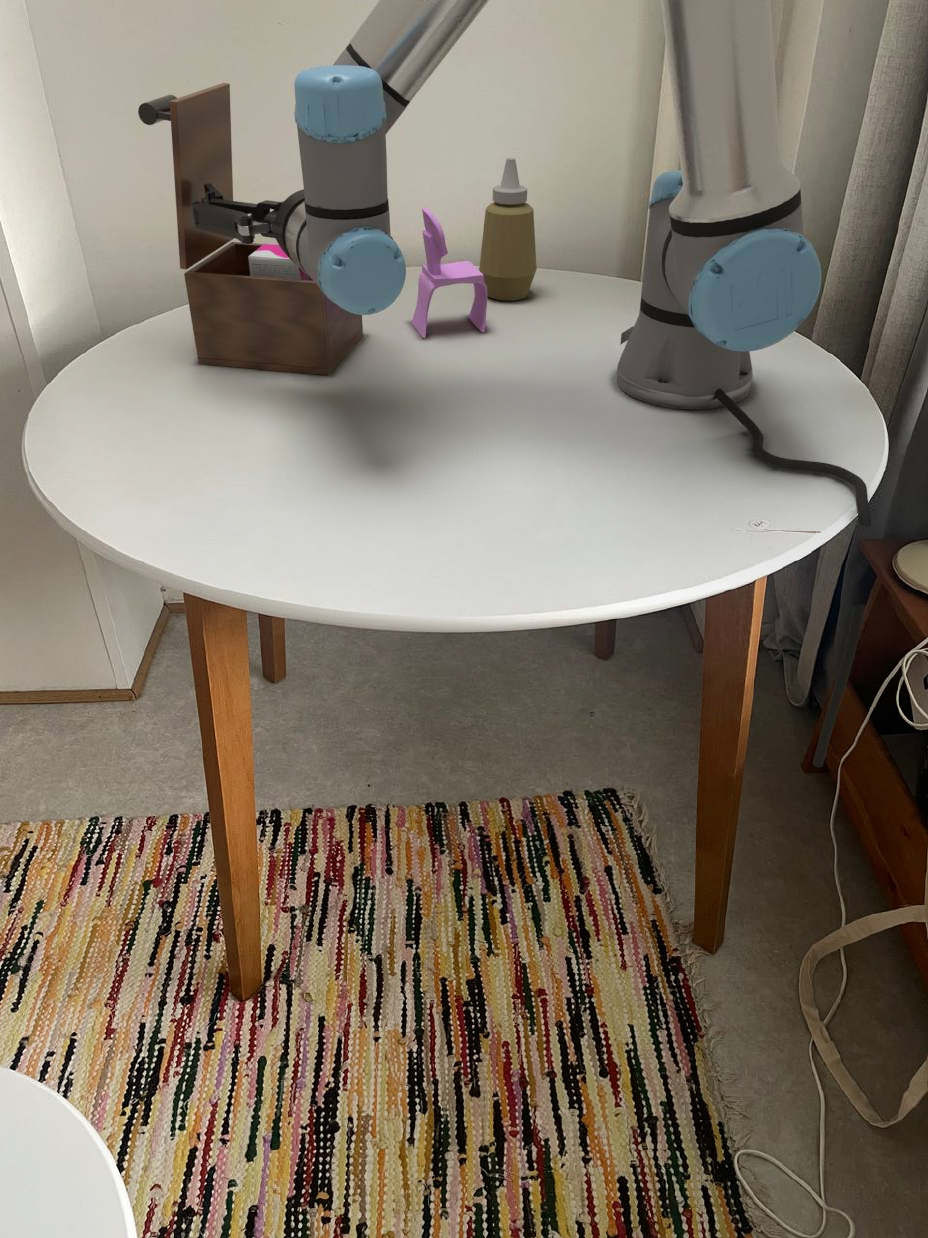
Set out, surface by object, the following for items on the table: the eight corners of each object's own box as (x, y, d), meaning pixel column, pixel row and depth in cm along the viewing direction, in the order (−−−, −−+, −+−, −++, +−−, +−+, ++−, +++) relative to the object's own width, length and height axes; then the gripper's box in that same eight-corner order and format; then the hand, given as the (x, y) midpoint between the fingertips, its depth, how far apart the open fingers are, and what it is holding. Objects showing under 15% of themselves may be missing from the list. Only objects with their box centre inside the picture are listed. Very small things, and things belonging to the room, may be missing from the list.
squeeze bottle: (469, 290, 144) (470, 155, 133) (519, 283, 146) (523, 150, 136) (494, 307, 138) (497, 167, 127) (545, 299, 140) (552, 161, 130)
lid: (229, 83, 115) (176, 74, 115) (176, 101, 104) (118, 92, 104) (234, 238, 125) (185, 229, 126) (186, 269, 114) (133, 259, 115)
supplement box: (303, 355, 121) (294, 258, 114) (256, 352, 122) (244, 255, 115) (316, 338, 125) (308, 244, 119) (271, 335, 126) (260, 242, 120)
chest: (363, 336, 129) (358, 249, 122) (328, 375, 118) (320, 283, 111) (243, 326, 132) (232, 241, 125) (198, 363, 121) (183, 273, 114)
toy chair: (490, 334, 129) (493, 212, 120) (424, 341, 127) (422, 217, 118) (472, 313, 135) (473, 197, 127) (409, 320, 133) (405, 201, 125)
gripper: (201, 289, 98) (164, 236, 113) (437, 259, 105) (372, 213, 121) (188, 208, 93) (151, 164, 109) (435, 183, 101) (368, 146, 117)
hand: (267, 190), depth 115 cm, fingers open, 13 cm apart
